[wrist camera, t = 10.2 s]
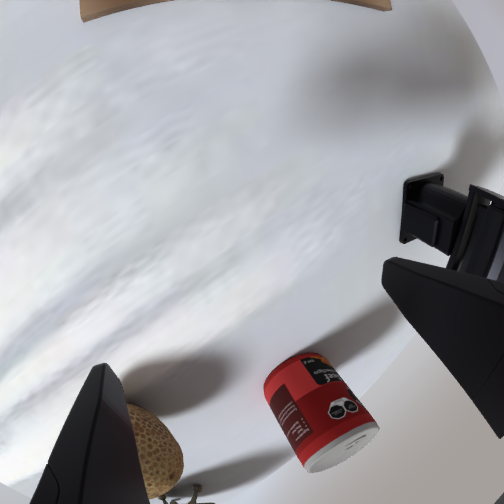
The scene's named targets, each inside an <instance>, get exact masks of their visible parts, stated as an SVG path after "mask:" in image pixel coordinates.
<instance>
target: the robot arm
mask: <svg viewBox="0 0 504 504" xmlns="http://www.w3.org/2000/svg"><path fill="white" fill-rule="evenodd" d="M443 181H444V176H443V174H441V173H437V174H433V175H429V176H425V177H421V178H417V179H413V180H409V181H406V182H405V183H404V187H403V204H402V218H401V229H400V238H399V241H400V242H401V243H403V244H406V243H408V242H410V241H412V240H415V239H419V240H421V241H423V242H424V243H426V244H428V245H429V246H431V247H434V248H436V249H438V250H439V251H441V252H443V253H444V254H446V255H447V256H449V255H450V258H449V261H448V264H447V266H446V268H442V267H438V266H433V265H429V264H425V263H420V262H416V261H412V260H407V259H403V258H398V257H392V258H390V259H388V260H386V261H385V262H384V264H383V272H382V280H381V281H382V285H383V287H384V289H385V290H386V292H387V293H388V294H389V296H390V297H391V298H392V300H393V301H394V303H395V304H396V305H397V307H398V308H399V310H400V311H401V312H402V314H403V315H404V317H405V318H406V319H407V320H408V322H409V323H410V324H411V325H412V326H413V328H414V329H415V330H416V331H417V332H418V333H419V334H420V336H421V337H422V338H423V339H424V340H425V342H426V343H427V344H428V345H429V346H430V348H431V349H432V350H433V351H434V352H435V354H436V355H437V356H438V357H439V358H440V360H441V361H442V362H443V364H444V365H445V366H446V367H447V369H448V370H449V371H450V372H451V374H452V375H453V376H454V378H455V379H456V380H457V381H458V383H459V384H460V385H461V386H462V388H463V389H464V390H465V392H466V393H467V394H468V396H469V397H470V398H471V400H472V401H473V403H474V404H475V406H476V407H477V408H478V410H479V411H480V412H481V414H482V415H483V416H484V418H485V419H486V421H487V422H488V424H489V425H490V427H491V428H492V429H493V431H494V432H495V434H496V435H497V436H498V438H499V439H501V438H502V437H503V436H504V196H502V195H500V194H497V193H495V192H493V191H490V190H488V189H485V188H481V187H478V186H475V185H471V184H470V186H469V194H468V197H467V196H465V195H463V194H461V193H458V192H456V191H454V190H451V189H449V188H446V187H444V186H443ZM490 201H492V203H491V205H490ZM30 504H150V502H149V498H148V494H147V490H146V486H145V482H144V478H143V474H142V469H141V465H140V460H139V455H138V450H137V445H136V439H135V434H134V430H133V426H132V422H131V419H130V415H129V411H128V408H127V404H126V400H125V396H124V391H123V387H122V384H121V382H120V380H119V378H118V377H117V376H116V374H115V373H114V372H113V370H112V369H111V368H110V366H109V365H108V364H107V363H102V364H98V365H95V366H93V368H92V369H91V371H90V373H89V375H88V377H87V379H86V381H85V383H84V385H83V386H82V388H81V390H80V392H79V394H78V396H77V398H76V400H75V402H74V404H73V406H72V409H71V411H70V413H69V415H68V417H67V419H66V421H65V423H64V425H63V428H62V430H61V432H60V434H59V436H58V439H57V441H56V443H55V445H54V448H53V450H52V452H51V455H50V457H49V460H48V464H46V467H45V469H44V472H43V474H42V476H41V479H40V481H39V484H38V486H37V488H36V491H35V493H34V495H33V497H32V499H31V501H30ZM495 504H504V493H503V494H502V495H501V496H500V498H499V499H498V500H497V501H496V502H495Z"/></svg>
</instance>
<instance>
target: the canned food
mask: <svg viewBox="0 0 504 504" xmlns="http://www.w3.org/2000/svg"><path fill="white" fill-rule="evenodd" d="M264 395H265V398H266V400H267V402H268V404H269V406H270V408H271V410H272V411H273V413H274V415H275V417H276V419H277V421H278V423H279V424H280V426H281V428H282V430H283V432H284V434H285V435H286V437H287V439H288V441H289V443H290V444H291V446H292V448H293V450H294V452H295V453H296V455H297V457H298V459H299V460H300V462H301V463H302V465H303V467H304V468H305V469H306V470H307V472H308V473H315V472H320V471H323V470H326V469H328V468H331V467H333V466H335V465H337V464H339V463H341V462H343V461H345V460H346V459H348V458H350V457H351V456H353V455H354V454H356V453H357V452H358V451H360V450H361V449H362V448H364V447H365V446H366V445H367V444H368V443H369V442H370V441H371V440H372V439H373V438H374V437H375V436H376V434H377V433H378V431H379V426H378V425H377V423H376V421H375V420H374V419H373V418H372V416H371V415H370V413H369V412H368V411H367V410H366V408H365V407H364V406H363V405H362V403H361V402H360V401H359V400H358V398H357V397H356V396H355V395H354V393H353V392H352V391H351V390H350V388H349V387H348V386H347V384H346V383H345V382H344V381H343V379H342V378H341V377H340V376H339V374H338V373H337V372H336V371H335V369H334V368H333V367H332V366H331V364H330V363H329V362H328V361H327V359H326V358H324V357H322V356H321V355H319V354H316V353H306V354H301V355H298V356H295V357H293V358H290V359H288V360H287V361H285V362H283V363H282V364H280V365H279V366H278V367H277V368H275V369H274V370H273V371H272V372H271V373H270V375H269V376H268V377H267V379H266V381H265V383H264Z"/></svg>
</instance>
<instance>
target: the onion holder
mask: <svg viewBox="0 0 504 504" xmlns="http://www.w3.org/2000/svg"><path fill="white" fill-rule="evenodd" d="M167 1H173V0H80V14H81V19H82V21H83V22H87V21H90V20H93V19H96V18H99V17H102V16H106V15H109V14H112V13H116V12H120V11H124V10H128V9H132V8H136V7H141V6H145V5H150V4H155V3H161V2H167ZM332 1H338V2H344V3H349V4H354V5H359V6H364V7H368V8H373V9H377V10H381V11H387V10H392V7H391V2H390V0H332Z"/></svg>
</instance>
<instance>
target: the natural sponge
mask: <svg viewBox="0 0 504 504" xmlns="http://www.w3.org/2000/svg"><path fill="white" fill-rule="evenodd" d="M126 404H127V408H128V411H129V415H130V419H131V422H132V426H133V430H134V434H135V439H136V445H137V450H138V455H139V460H140V465H141V469H142V474H143V478H144V482H145V486H146V490H147V494H148V498H149V499H153V498H156V497H158V496H160V495H163V494H165V493H166V492H168V491H169V490H171V489H172V488H173V487H174V486H175V484H176V483H177V482H178V480H179V479H180V477H181V475H182V472H183V467H184V463H183V454H182V450H181V448H180V446H179V444H178V442H177V441H176V440H175V438H174V437H173V435H172V434H171V433H170V431H169V430H168V428H167V427H166V426H165V425H164V424H163V423H162V422H161V421H160V420H159V419H158V418H157V417H156V416H155V415H153V414H152V413H150V412H148V411H147V410H145V409H143V408H141V407H139V406H136V405H133V404H128V403H126Z"/></svg>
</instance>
